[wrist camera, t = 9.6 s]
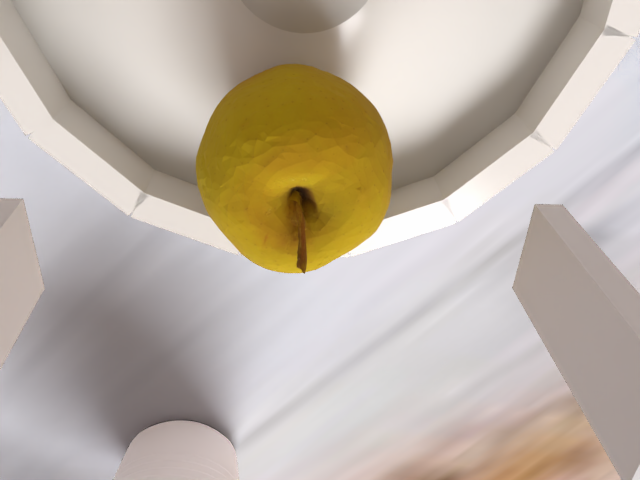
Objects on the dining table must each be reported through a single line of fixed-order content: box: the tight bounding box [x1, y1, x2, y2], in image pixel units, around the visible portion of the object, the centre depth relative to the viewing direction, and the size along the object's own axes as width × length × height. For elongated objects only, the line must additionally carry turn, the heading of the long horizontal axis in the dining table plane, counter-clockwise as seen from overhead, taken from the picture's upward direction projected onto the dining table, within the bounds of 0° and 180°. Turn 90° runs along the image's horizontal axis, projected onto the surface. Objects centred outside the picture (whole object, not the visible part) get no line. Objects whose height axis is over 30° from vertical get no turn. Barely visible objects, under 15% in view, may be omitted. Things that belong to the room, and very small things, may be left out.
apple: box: [196, 64, 393, 274], centre depth 20 cm, size 6×6×8 cm
